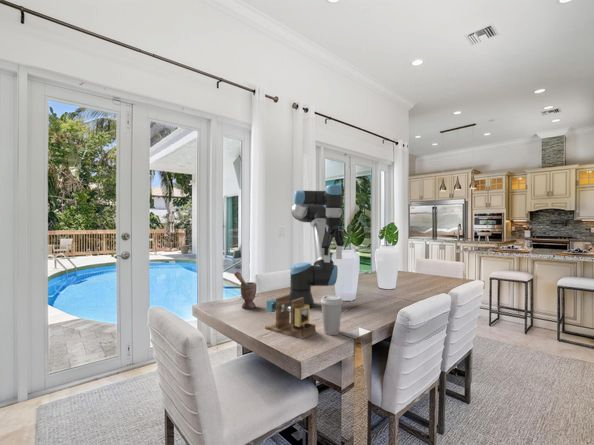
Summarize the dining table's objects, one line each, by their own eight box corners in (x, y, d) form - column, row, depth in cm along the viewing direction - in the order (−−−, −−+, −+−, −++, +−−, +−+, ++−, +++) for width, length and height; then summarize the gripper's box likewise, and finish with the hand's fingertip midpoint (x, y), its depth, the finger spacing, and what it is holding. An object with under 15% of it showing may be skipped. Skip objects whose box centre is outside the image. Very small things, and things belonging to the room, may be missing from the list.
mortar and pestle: (240, 311, 162) (240, 273, 162) (232, 307, 169) (232, 271, 169) (259, 307, 169) (259, 271, 169) (251, 304, 176) (251, 269, 176)
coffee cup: (318, 328, 137) (318, 294, 137) (340, 328, 138) (340, 294, 138) (322, 336, 127) (322, 300, 127) (345, 336, 128) (345, 300, 128)
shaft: (266, 311, 140) (266, 301, 140) (273, 309, 143) (273, 299, 143) (303, 319, 128) (303, 308, 128) (309, 317, 132) (309, 306, 132)
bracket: (265, 328, 137) (265, 296, 137) (279, 322, 145) (279, 292, 145) (302, 338, 125) (302, 304, 125) (315, 331, 133) (315, 299, 133)
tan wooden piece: (294, 325, 129) (294, 307, 129) (304, 321, 135) (304, 304, 135) (299, 326, 127) (299, 308, 127) (309, 322, 133) (309, 305, 133)
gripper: (329, 217, 139) (328, 264, 139) (350, 217, 160) (350, 258, 160) (314, 217, 143) (314, 263, 143) (337, 216, 164) (336, 257, 164)
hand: (333, 260), depth 152 cm, fingers open, 13 cm apart
